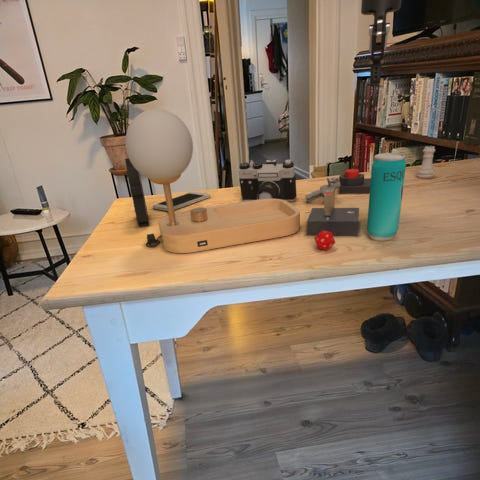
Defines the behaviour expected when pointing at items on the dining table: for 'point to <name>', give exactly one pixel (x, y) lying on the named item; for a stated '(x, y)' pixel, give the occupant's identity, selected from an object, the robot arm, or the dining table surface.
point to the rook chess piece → (427, 163)
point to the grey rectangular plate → (329, 201)
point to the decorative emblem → (137, 194)
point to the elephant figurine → (323, 189)
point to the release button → (352, 173)
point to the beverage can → (385, 195)
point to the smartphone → (183, 200)
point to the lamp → (199, 219)
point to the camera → (267, 180)
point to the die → (324, 240)
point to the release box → (354, 184)
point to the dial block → (333, 221)
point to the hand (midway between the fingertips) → (374, 84)
